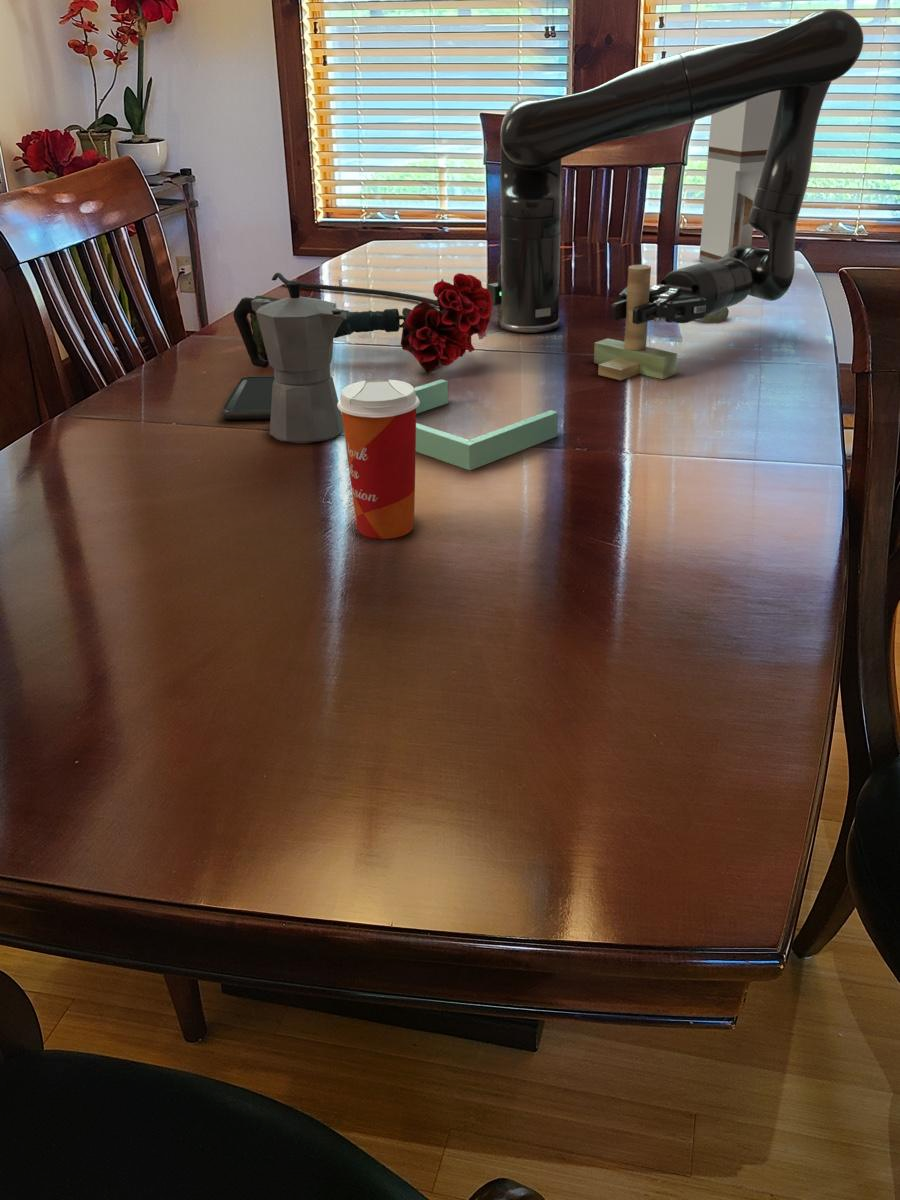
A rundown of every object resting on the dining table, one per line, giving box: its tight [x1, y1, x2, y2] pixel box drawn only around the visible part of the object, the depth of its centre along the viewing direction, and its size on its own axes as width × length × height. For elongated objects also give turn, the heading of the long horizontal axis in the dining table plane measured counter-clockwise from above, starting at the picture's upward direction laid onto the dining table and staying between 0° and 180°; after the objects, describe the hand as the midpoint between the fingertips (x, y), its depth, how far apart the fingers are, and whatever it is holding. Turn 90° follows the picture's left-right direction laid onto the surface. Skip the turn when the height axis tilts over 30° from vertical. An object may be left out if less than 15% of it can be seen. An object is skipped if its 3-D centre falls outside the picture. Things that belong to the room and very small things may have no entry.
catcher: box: [413, 378, 559, 471], centre depth 129 cm, size 15×20×3 cm
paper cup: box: [337, 379, 420, 540], centre depth 103 cm, size 8×8×14 cm
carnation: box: [249, 272, 493, 373], centre depth 154 cm, size 16×18×35 cm
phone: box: [221, 375, 275, 421], centre depth 142 cm, size 8×1×15 cm
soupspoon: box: [698, 307, 730, 323], centre depth 182 cm, size 22×3×7 cm
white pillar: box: [698, 90, 780, 263], centre depth 204 cm, size 11×11×35 cm
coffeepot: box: [232, 280, 347, 444], centre depth 128 cm, size 15×9×18 cm, turn 65°
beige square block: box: [597, 358, 640, 381], centre depth 149 cm, size 4×4×2 cm
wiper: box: [593, 264, 678, 380], centre depth 148 cm, size 3×12×14 cm, turn 44°
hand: (624, 314), depth 146 cm, fingers closed on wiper, 3 cm apart
